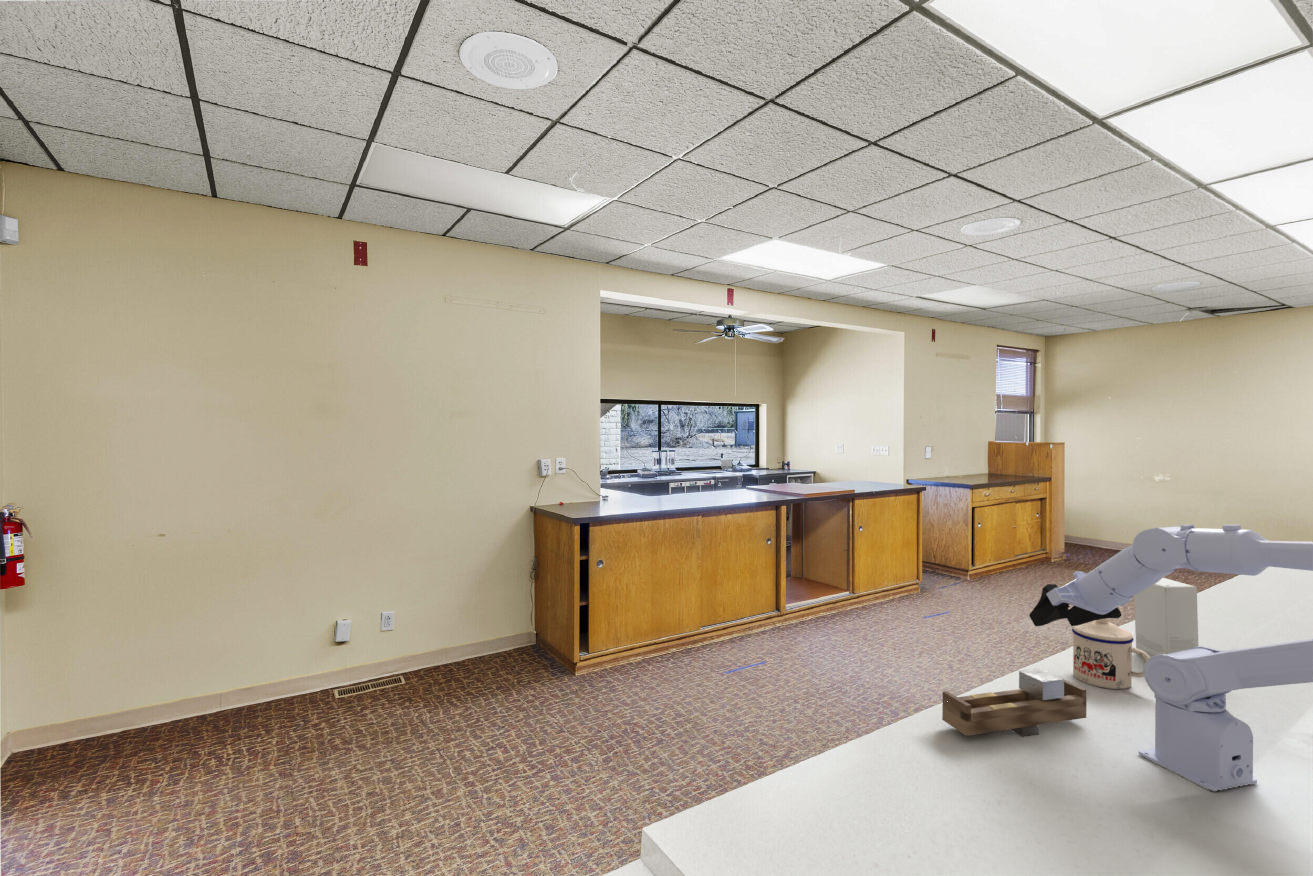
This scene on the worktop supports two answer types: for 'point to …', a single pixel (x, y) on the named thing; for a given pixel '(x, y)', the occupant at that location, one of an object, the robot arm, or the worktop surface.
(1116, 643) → the teacup with lid
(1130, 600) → the robot arm
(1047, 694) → the block
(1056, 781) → the worktop surface
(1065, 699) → the beam
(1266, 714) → the worktop surface
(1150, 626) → the skincare box
